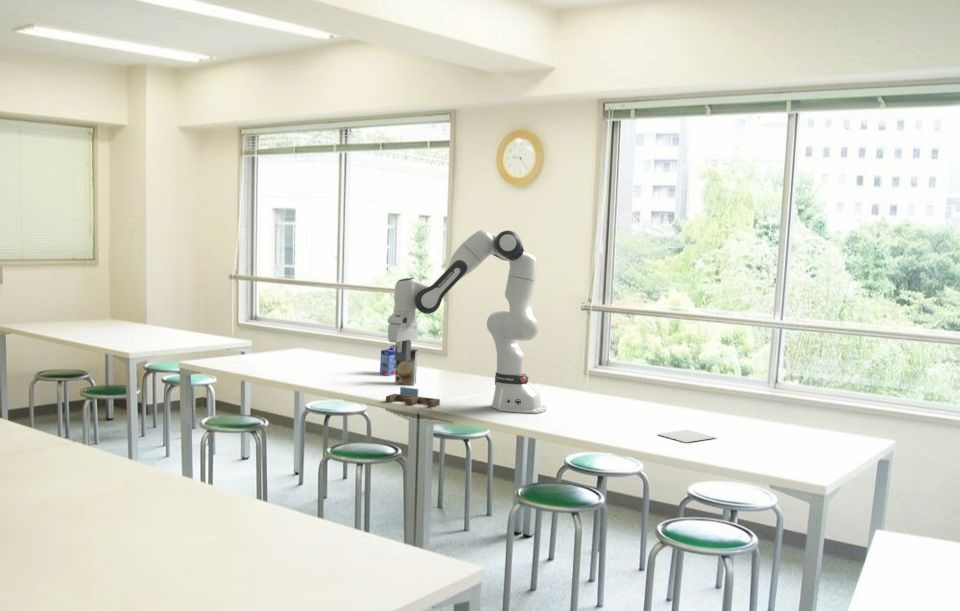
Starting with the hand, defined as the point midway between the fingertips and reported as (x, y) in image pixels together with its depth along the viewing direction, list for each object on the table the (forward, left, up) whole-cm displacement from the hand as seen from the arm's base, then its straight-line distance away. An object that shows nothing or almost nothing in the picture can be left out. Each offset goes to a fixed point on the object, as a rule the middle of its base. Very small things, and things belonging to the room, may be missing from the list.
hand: (403, 351), depth 352 cm
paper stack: (-117, +4, -22) cm, 119 cm away
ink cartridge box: (+38, -61, -21) cm, 75 cm away
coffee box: (+19, -41, -21) cm, 50 cm away
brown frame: (-5, -2, -21) cm, 22 cm away
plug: (0, 0, -4) cm, 4 cm away
